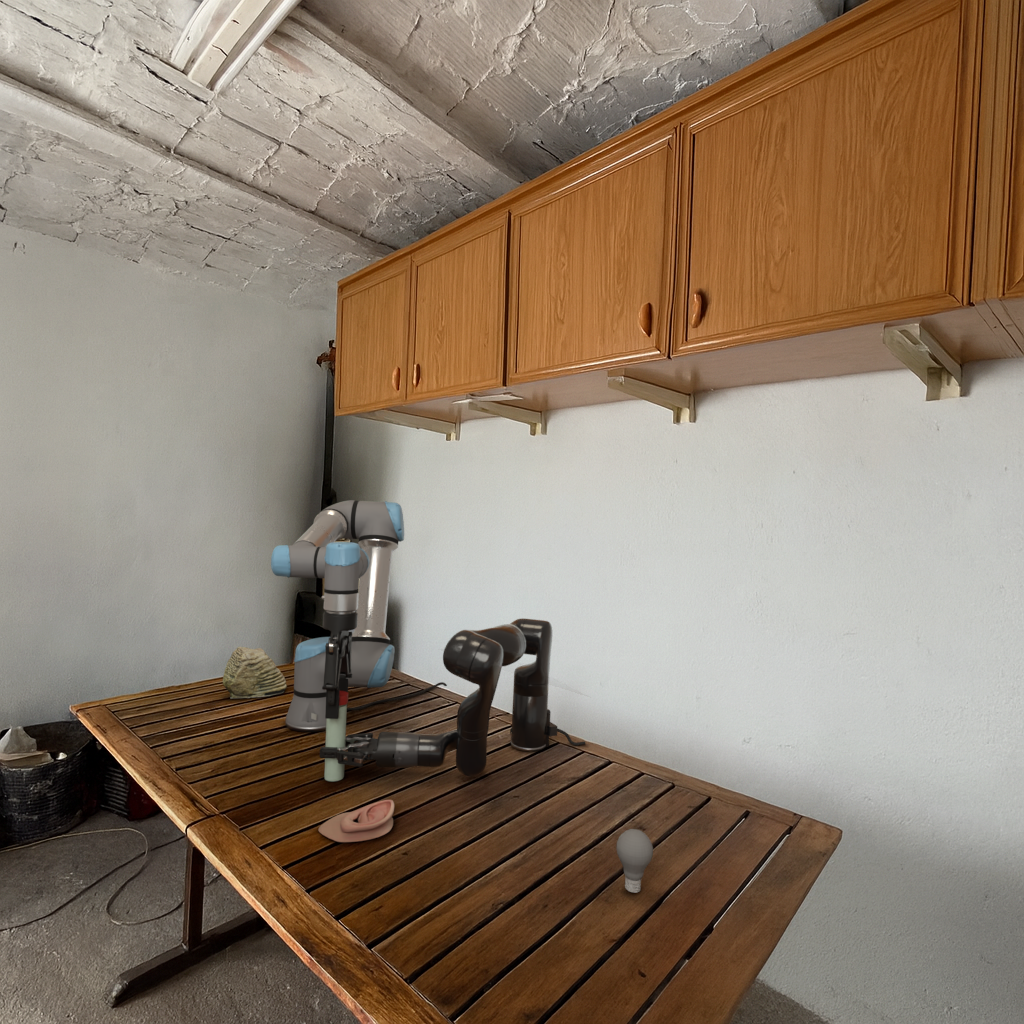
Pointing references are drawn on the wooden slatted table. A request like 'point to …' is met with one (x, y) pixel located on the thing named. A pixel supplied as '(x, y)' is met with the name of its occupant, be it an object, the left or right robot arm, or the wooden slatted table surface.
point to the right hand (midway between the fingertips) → (323, 748)
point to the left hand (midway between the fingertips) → (336, 712)
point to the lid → (343, 698)
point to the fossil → (252, 674)
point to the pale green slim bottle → (335, 744)
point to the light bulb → (634, 857)
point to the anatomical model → (360, 823)
